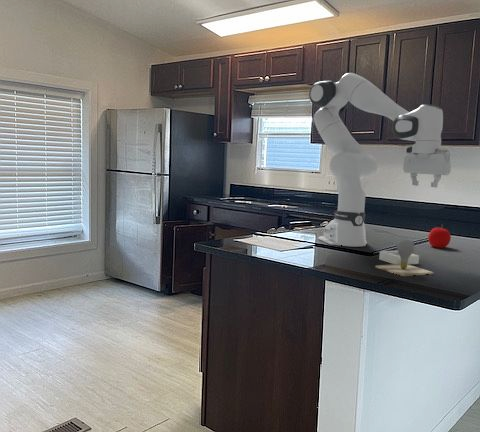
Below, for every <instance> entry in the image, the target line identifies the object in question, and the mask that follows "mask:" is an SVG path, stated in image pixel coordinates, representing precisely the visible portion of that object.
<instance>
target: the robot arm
mask: <svg viewBox="0 0 480 432" xmlns="http://www.w3.org/2000/svg"><path fill="white" fill-rule="evenodd" d="M308 96H309V97H308V98H309V100H310V102H311V103H312V104H313V105H314V106H316V107H319V109H318V110H316V112H315V113H314V115H313V122H314V125H315V127H316V129H317V132H318V134H319V135H320V137H321V139H322V140H323V143H324V144H325V146H326V147H327V149H328V151H329V152H330V153H332V154H333V156H332V157H331V159H330V162H329V170H330V172H331V174H332V175H333V177H334V178H335V181H336V185H337V191H338V193H337V194H338V197H337V198H338V199H337V201H338V202H337V210H335V211H333V212H334V213H333V214H334V219H332V220H331V221H330V222H329V223H328V224H326V225H325V227H324V230H323V235H320V236H318V238H317V239H318V240H320V241H322V242H324V243H326V244H329V245H330V246H331V245H332V246H341V245H342V247H352V248H353V247H356V248H357V247H366V245H367V244H368V241H367V240H366V238H367V237H366V224H365V222H364V221H365V220H366V218H365V217H366V212H365V208H366V207H365V205H366V192H365V191H364V190H363V187H362V184H361V179H367V178H370V177H372V176H373V175H374V174H375V173H376V172H377V169H378V161H377V160H376V159H377V158H375V157H374V155H371V154H370V153H368V152H367V151H366V149H364V147H363V146H362V145H361V144H359V142H357V141H356V139H355V138H354V137H353V135H352V134H351V132H350V131H349V129H348V128H347V126H346V125H345V124H344V121H343V120H342V118H341V117H340V115H339V114H343V113H344V112H345V110H346V109H347V108H348V107H349V106H350V105H353V107H355V108H357V109H359V110H361V111H364V112H366V113H369V114H370V113H371V114H375V115H380V116H382V117H385V118H388V119H390V120H391V121H392V125H391V130H392V131H391V132H392V134H393V135H394V137H395V138H397V139H399V140H402V141H409V142H411V141H412V142H415V143H413V144H411V145H409V146H407V147H405V148H404V153H405V155H404V157H403V165H402V169H403V172H404V173H405V174H409V175H410V179H411V186H415V187H416V186H417V187H418V186H419V180H418V178H417V177H418V175H432V176H433V178H434V179H433V181H432V182H430V187H431V188H438V187H439V186H438V185H439V184H438V183H439V182H440V180H441V178H442V176H449V175H450V173H451V165H452V164H451V152H449V150H448V149H446V148H443V149H442V137H441V136H442V135H441V134H442V133H443V128H444V127H443V126H444V125H443V124H444V112H443V109H442V108H441V107H440V106H438V105H433V104H428V103H427V104H426V103H425V104H420V106H418V108H416V109H413V110H412V111H409V110H407V109H406V108H404V107H402V106H401V105H400V104H398V103H397V102H395V101H394V100H393V99H392V98H390V97H389V96H388V95H387V94H385V93H384V92H383V91H382V90H381V89H379V87H377V85H375V84H374V83H372V82H371V81H369V80H368V79H366V78H365V77H363V76H362V75H359V74H357V73H354V72H347V73H345V74H344V75H342V76H341V78H340V79H339V80H338V81H337V82H334V81H333V80H323V81H317V82H315V83H314V84H312V85H311V87H310V90H309V94H308Z"/></svg>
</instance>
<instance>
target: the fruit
mask: <svg viewBox="0 0 480 432" xmlns="http://www.w3.org/2000/svg"><path fill="white" fill-rule="evenodd" d="M443 227H444V226H443V224H441V227H437V226H436V227H434V228H432V229H431V230H430V231H429V233H428V236H427V239H428V243H429V245H431V246H432V247H433V248H438V249H443V248H446V247H447V246H448V245H449V244H450V242H451V239H452V235H451V233H450V231H449V230H448V229H445V228H443Z"/></svg>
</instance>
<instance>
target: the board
mask: <svg viewBox="0 0 480 432" xmlns="http://www.w3.org/2000/svg"><path fill="white" fill-rule="evenodd" d="M400 266H401V264H392V263H390V264H378V265H375V267H374V268H376V269H379V270H382V271H386V272H388V273H390V274H393V273H394V275H396V274H397V276H399V275H400V277H402V276H403V277H414V276H413V275H416V276H425V275H426V274H429V275H434V273H435V272H434V271H430V270H427V269H425V268H420V267H417V266H414V265H412V264H407V268H405V269H403V268H401V267H400ZM426 276H427V275H426Z"/></svg>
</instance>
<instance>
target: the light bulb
mask: <svg viewBox="0 0 480 432" xmlns="http://www.w3.org/2000/svg"><path fill="white" fill-rule="evenodd" d="M396 251H398V253H399V255H400V257H401V266H400V267H401V268H403V269H405V268H407V262H408V258H409V257H410V255H411V254H414V253H413V252H414V251H415V244H414V242H413V241H412V240H410V239H408V238H403V239H400V240H399V241H398V242H397V244H396Z"/></svg>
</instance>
